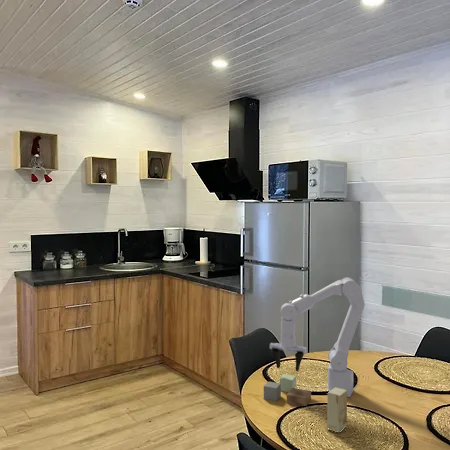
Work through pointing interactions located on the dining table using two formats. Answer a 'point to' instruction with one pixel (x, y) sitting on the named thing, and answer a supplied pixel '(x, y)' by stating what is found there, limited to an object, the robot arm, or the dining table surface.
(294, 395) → the walnut block
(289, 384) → the sage cube
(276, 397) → the grey cube
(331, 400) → the skincare box
